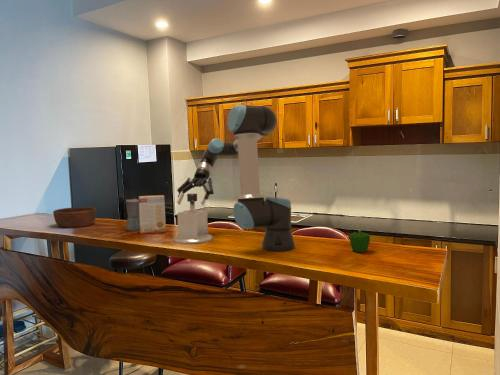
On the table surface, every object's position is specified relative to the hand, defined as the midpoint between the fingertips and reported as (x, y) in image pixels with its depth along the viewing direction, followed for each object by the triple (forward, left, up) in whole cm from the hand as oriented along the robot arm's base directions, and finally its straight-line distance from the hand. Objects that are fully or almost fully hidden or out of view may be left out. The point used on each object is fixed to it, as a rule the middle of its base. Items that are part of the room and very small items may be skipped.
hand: (190, 203), depth 185 cm
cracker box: (+33, +5, -19) cm, 39 cm away
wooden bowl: (+90, +31, -19) cm, 97 cm away
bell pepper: (-70, -43, -19) cm, 84 cm away
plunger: (+1, -2, -17) cm, 17 cm away
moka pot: (+49, +10, -19) cm, 54 cm away
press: (+1, -2, -19) cm, 19 cm away
